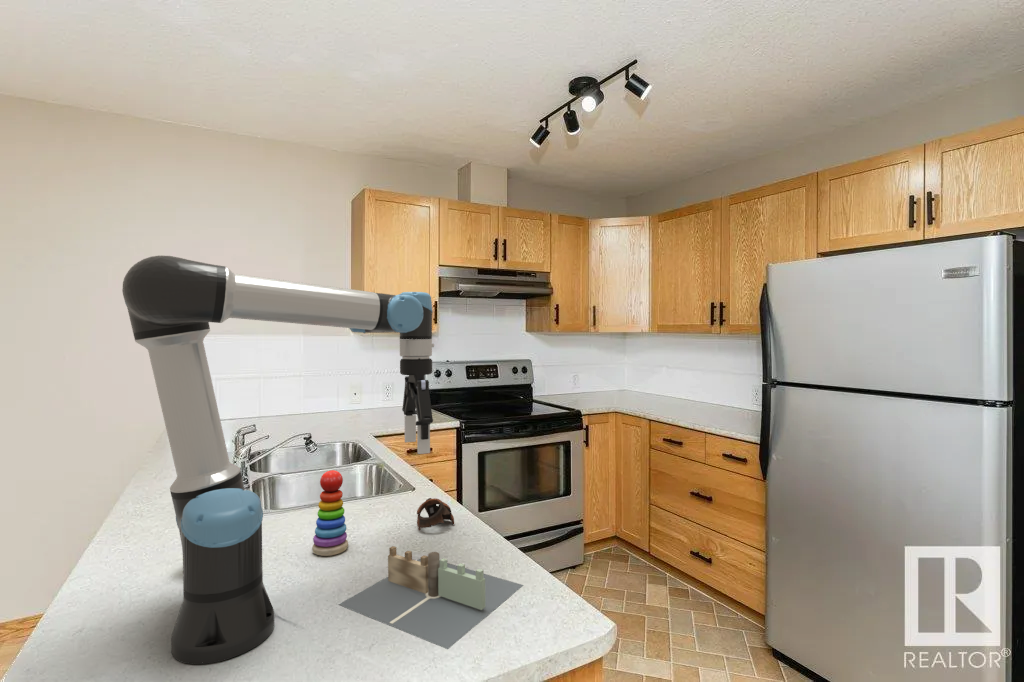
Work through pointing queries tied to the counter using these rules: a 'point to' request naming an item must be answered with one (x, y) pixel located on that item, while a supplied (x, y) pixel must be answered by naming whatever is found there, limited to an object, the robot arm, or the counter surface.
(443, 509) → the brown jagged ring
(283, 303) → the robot arm
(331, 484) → the stacking toy
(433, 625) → the board
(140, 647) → the counter surface
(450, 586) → the folding panel
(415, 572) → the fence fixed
